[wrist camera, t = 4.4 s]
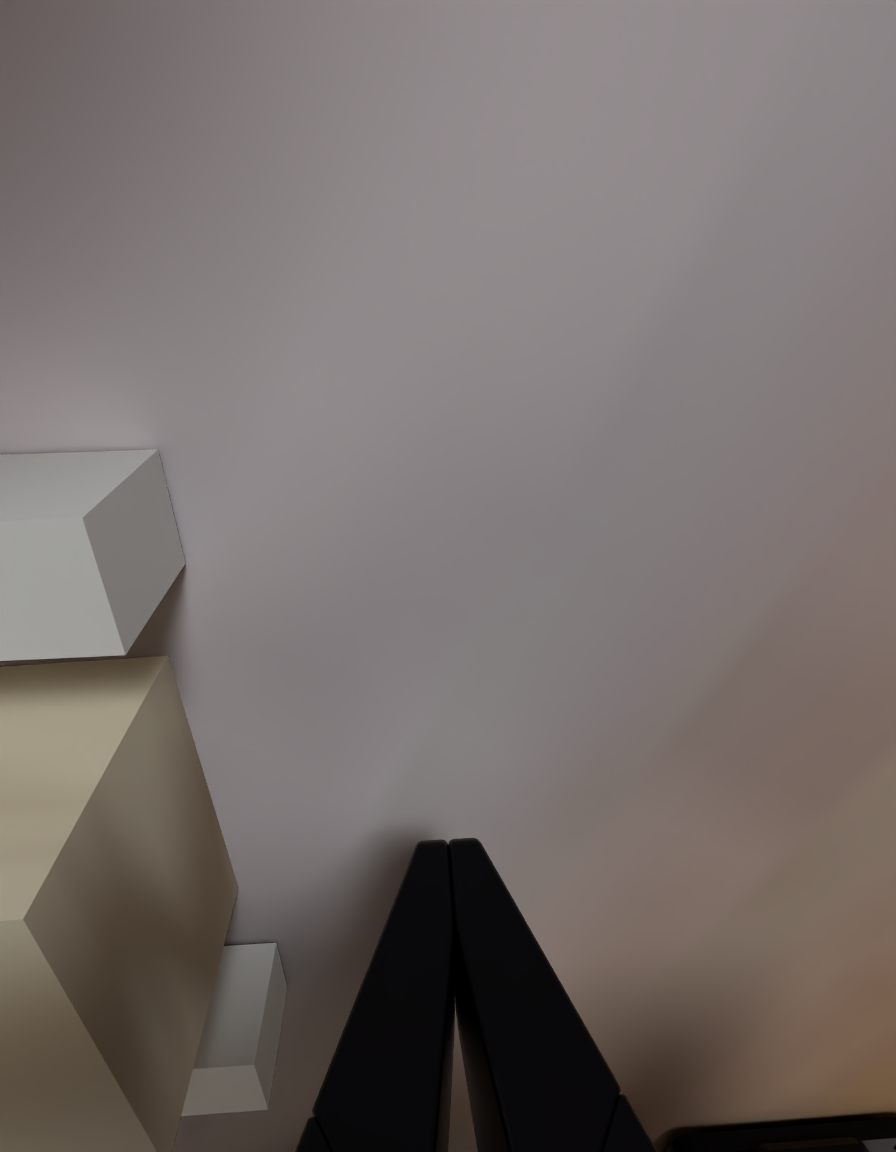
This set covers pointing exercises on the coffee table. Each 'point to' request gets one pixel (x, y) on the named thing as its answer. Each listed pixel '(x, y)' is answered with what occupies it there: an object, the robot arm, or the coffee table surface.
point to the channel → (109, 628)
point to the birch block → (103, 906)
